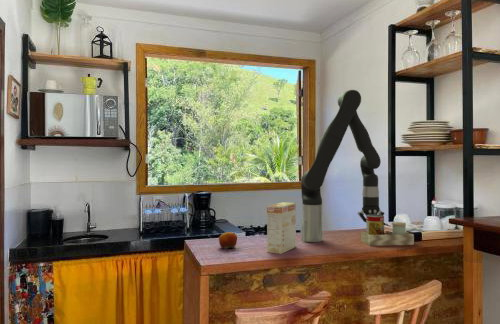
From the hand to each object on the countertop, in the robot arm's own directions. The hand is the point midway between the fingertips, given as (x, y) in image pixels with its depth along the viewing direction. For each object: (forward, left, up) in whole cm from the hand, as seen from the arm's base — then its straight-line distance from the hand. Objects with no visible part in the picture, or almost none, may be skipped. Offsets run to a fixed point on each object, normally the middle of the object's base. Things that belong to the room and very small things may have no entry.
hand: (371, 231), depth 179 cm
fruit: (-69, -14, -4) cm, 71 cm away
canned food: (0, -5, -4) cm, 6 cm away
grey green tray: (+4, -10, -4) cm, 11 cm away
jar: (+9, -9, -4) cm, 14 cm away
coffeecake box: (-46, -19, -4) cm, 50 cm away
